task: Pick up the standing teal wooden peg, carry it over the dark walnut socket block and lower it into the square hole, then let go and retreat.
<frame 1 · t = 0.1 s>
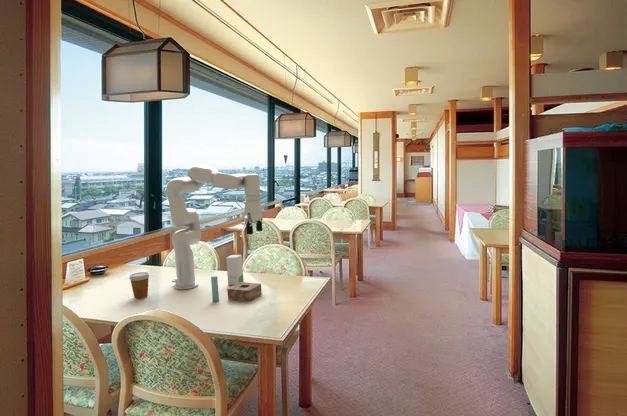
hand: (254, 232, 210), 31 cm above the table, tool pointing down, fingers open, 9 cm apart
skincare box: (235, 283, 232), on the table
disposable coffee cup: (141, 297, 214), on the table
peg: (215, 300, 203), on the table
socket block: (245, 297, 207), on the table
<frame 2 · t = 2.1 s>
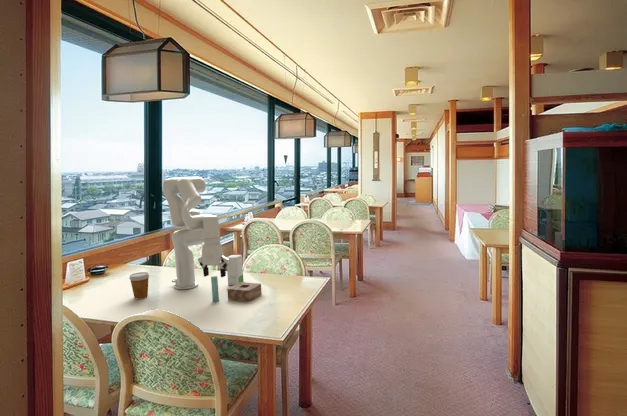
hand: (214, 276, 201), 12 cm above the table, tool pointing down, fingers open, 9 cm apart
nothing on the table moved.
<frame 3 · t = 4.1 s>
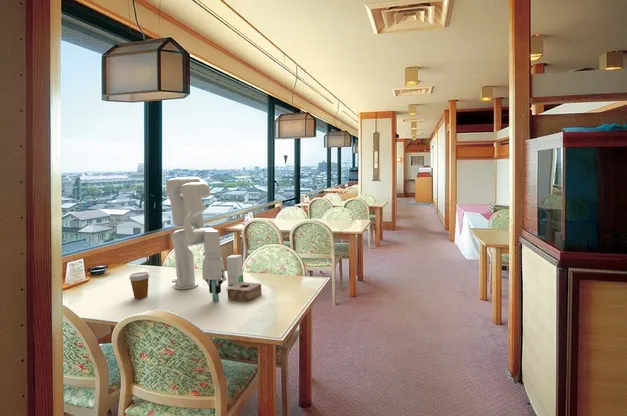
hand: (215, 292, 203), 4 cm above the table, tool pointing down, fingers closed on peg, 3 cm apart
peg: (215, 300, 203), on the table, touching gripper
everything else where it was.
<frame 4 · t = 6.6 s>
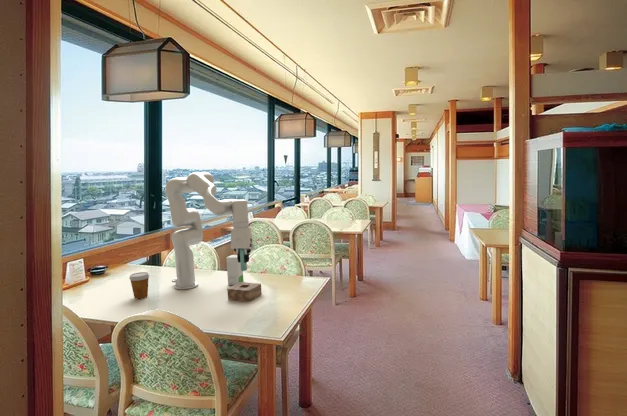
hand: (243, 261, 205), 18 cm above the table, tool pointing down, fingers closed on peg, 3 cm apart
peg: (244, 270, 206), point 14 cm above the table, touching gripper
everything else where it was.
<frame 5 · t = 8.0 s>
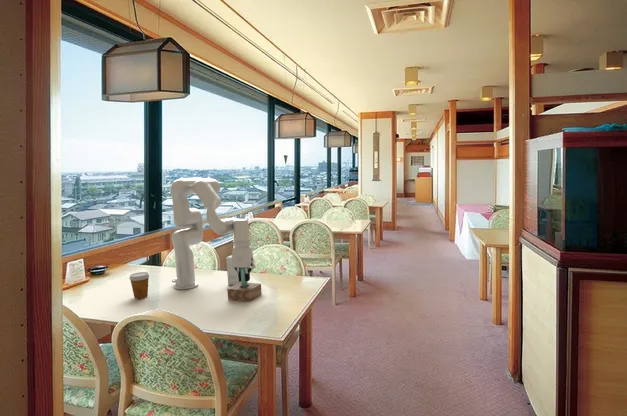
hand: (244, 280, 206), 8 cm above the table, tool pointing down, fingers closed on peg, 3 cm apart
peg: (244, 288, 207), point 4 cm above the table, touching gripper
everything else where it was.
when the fingers open (7 cm above the table, at t = 9.2 s): peg drops 2 cm, resting on socket block.
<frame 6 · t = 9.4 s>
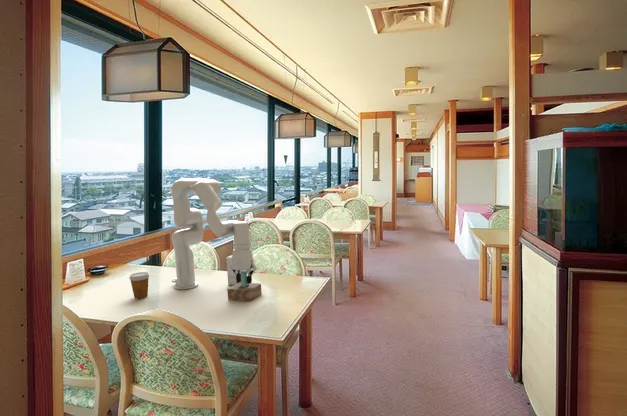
hand: (244, 282, 207), 7 cm above the table, tool pointing down, fingers open, 5 cm apart
peg: (244, 295, 207), point 1 cm above the table, touching socket block
everything else where it was.
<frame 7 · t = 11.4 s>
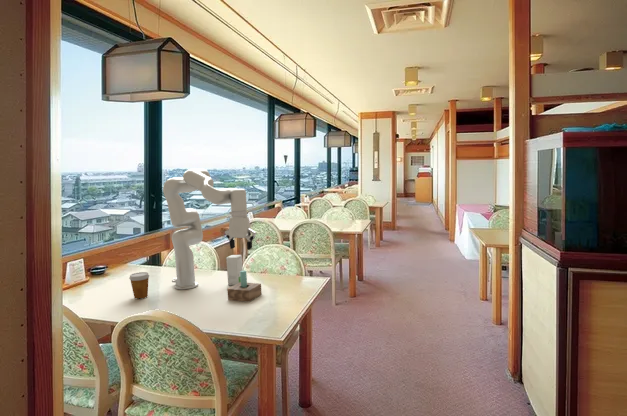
hand: (241, 248, 205), 24 cm above the table, tool pointing down, fingers open, 9 cm apart
nothing on the table moved.
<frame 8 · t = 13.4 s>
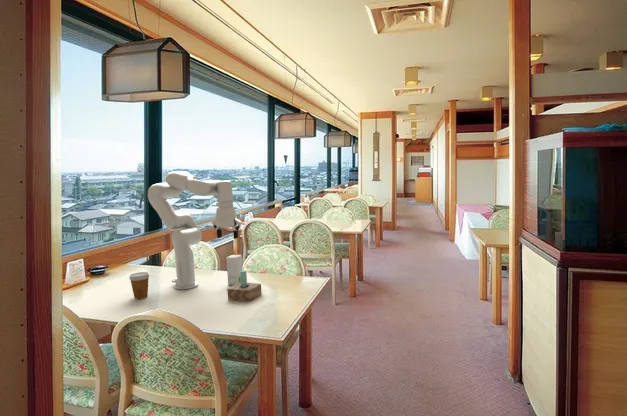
hand: (227, 237, 214), 28 cm above the table, tool pointing down, fingers open, 9 cm apart
nothing on the table moved.
at the end: peg 0.1 cm off-centre on the socket block, point 1.0 cm above the socket block's base; peg tilted 1°; the gripper is holding nothing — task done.
